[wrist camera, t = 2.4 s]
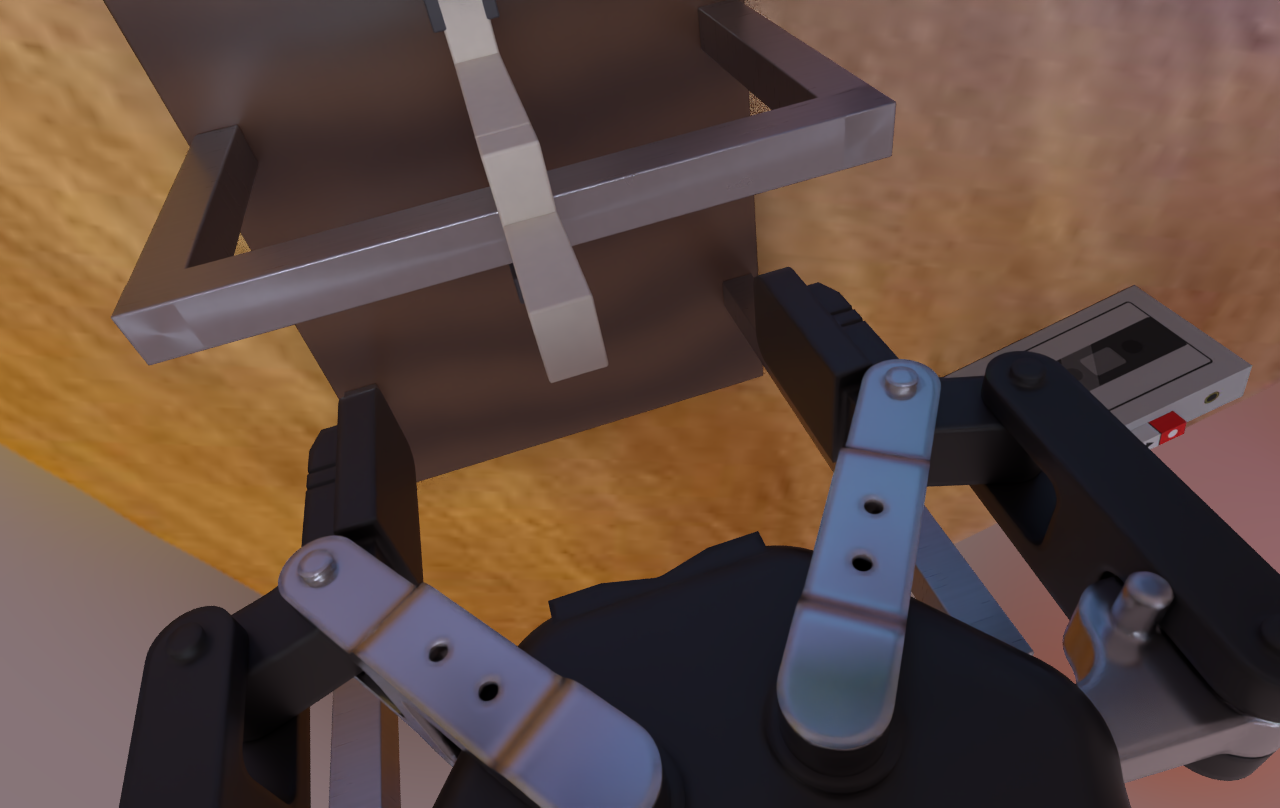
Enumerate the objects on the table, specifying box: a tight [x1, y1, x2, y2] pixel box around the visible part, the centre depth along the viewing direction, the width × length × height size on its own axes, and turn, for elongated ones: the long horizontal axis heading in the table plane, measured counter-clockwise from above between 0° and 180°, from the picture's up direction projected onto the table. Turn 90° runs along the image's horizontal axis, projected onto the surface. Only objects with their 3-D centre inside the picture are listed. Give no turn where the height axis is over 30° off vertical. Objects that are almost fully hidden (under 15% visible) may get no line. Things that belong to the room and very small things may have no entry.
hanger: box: [423, 0, 608, 383], centre depth 21 cm, size 11×2×13 cm, turn 9°
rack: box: [103, 0, 1034, 808], centre depth 26 cm, size 26×22×24 cm
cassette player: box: [943, 285, 1252, 449], centre depth 47 cm, size 16×3×10 cm, turn 112°
